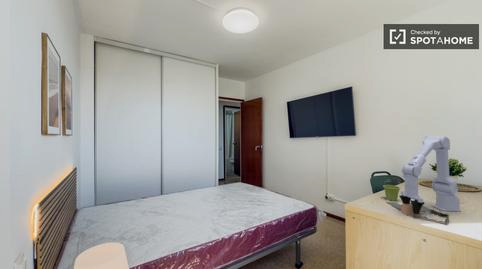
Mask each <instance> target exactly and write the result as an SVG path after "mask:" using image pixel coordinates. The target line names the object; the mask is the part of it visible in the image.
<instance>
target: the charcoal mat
mask: <svg viewBox="0 0 482 269" xmlns="http://www.w3.org/2000/svg"><path fill="white" fill-rule="evenodd" d="M386 204H388V205H389V206H391V207H393V208H395V209H396V210H398V211H400V212H401V204H403V203H402V201H400V202H399V201H398V202H396V201H386ZM410 204H412V203H411V202H410ZM429 209H430V208H429V207H426V206H424V205H423V206H422V213H424V212H426V211H428V210H429Z"/></svg>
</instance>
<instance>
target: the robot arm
mask: <svg viewBox="0 0 482 269" xmlns="http://www.w3.org/2000/svg"><path fill="white" fill-rule="evenodd" d="M422 139H423V140H422V146H421V149H420V150H419V152H418V153H417V154H414V155H413V156H412V158H411V159H410V161H409V162H408V164H405V165H403V166H402V168H401V173H402V174H403V178H404V190H400V194H399V195H398V198H399V199H400V200H401V202H402V203H403V204H410V203H412V206H413V213H414V214H419V212H420V209H421V207H422V206H424V205H425V202H424V198H422V197H421V196H420V195H419V176H420V175H421V174H422V170H423V166H424V165H425V163H426V162H427V157H428V155H429V154H430V153H431V152H432V151H434V152H435V158H436V159H435V160H436V175H437V176H436V177H435V178H432V184H431V188H432V189H431V190H433V191H434V193H435V204H432V205H431V206H432V207H433V208H436V209H438V210H441V211H446V212H462V211H461V209H460V204H461V203H460V202H461V201H460V197H459V196H458V195H457V193H458V192H459V187H458V185H457V181H455V179H452V178H451V176H450V162H449V150H451V140H450V138H449V137H447V136H445V135H444V136H430V135H429V136H428V135H427V136H425V137H424V138H422Z"/></svg>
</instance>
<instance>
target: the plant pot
mask: <svg viewBox="0 0 482 269" xmlns="http://www.w3.org/2000/svg"><path fill="white" fill-rule="evenodd" d="M382 186H383V190H384V195H385V199H386V200H388V201H391V202H396V201H398V198H399V192H400V191H401V187H400V186H397V185H391V184H385V185H382Z"/></svg>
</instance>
